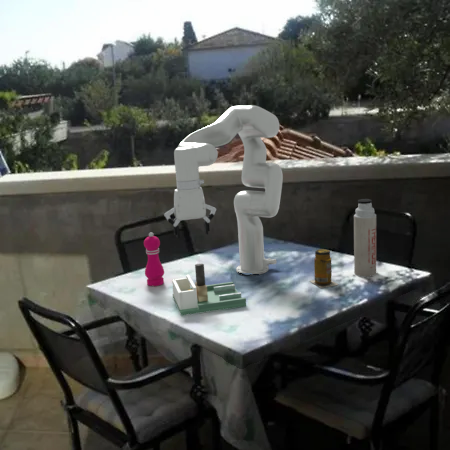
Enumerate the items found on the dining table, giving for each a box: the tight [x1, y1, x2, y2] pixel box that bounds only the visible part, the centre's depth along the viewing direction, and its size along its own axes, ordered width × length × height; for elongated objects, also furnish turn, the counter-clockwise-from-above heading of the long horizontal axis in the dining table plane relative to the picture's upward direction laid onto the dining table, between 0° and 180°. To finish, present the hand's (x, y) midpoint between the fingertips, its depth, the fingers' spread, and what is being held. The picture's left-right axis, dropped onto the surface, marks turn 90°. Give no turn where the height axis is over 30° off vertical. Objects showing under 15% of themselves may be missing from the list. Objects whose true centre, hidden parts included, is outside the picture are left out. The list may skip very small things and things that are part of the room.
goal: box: [171, 274, 198, 310], centre depth 215 cm, size 6×14×7 cm, turn 13°
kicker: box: [194, 263, 208, 302], centre depth 215 cm, size 3×6×12 cm, turn 13°
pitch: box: [172, 281, 247, 316], centre depth 217 cm, size 22×18×3 cm
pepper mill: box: [143, 232, 165, 287], centre depth 236 cm, size 7×7×20 cm
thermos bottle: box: [353, 198, 377, 278], centre depth 232 cm, size 8×8×28 cm
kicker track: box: [214, 284, 242, 301], centre depth 218 cm, size 8×10×2 cm
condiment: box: [309, 248, 339, 289], centre depth 227 cm, size 7×8×12 cm
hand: (192, 235), depth 211 cm, fingers open, 9 cm apart
